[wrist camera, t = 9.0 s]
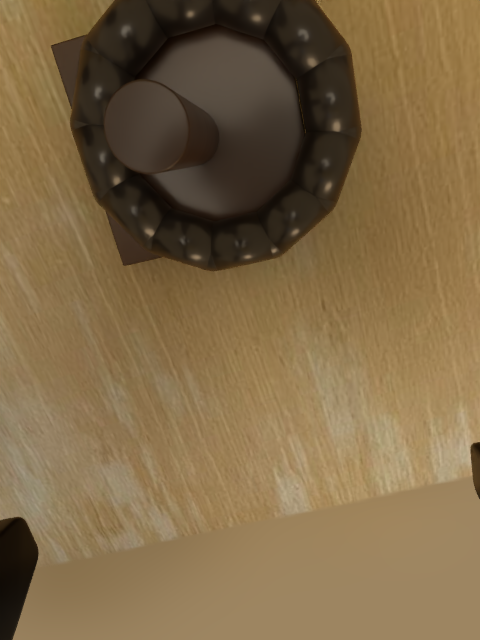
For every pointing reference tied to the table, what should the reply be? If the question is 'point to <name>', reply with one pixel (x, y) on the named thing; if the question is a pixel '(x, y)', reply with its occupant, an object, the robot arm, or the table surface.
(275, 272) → the table surface
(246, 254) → the studded brown bangle
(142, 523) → the table surface
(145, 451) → the table surface
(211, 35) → the rack
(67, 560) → the table surface
